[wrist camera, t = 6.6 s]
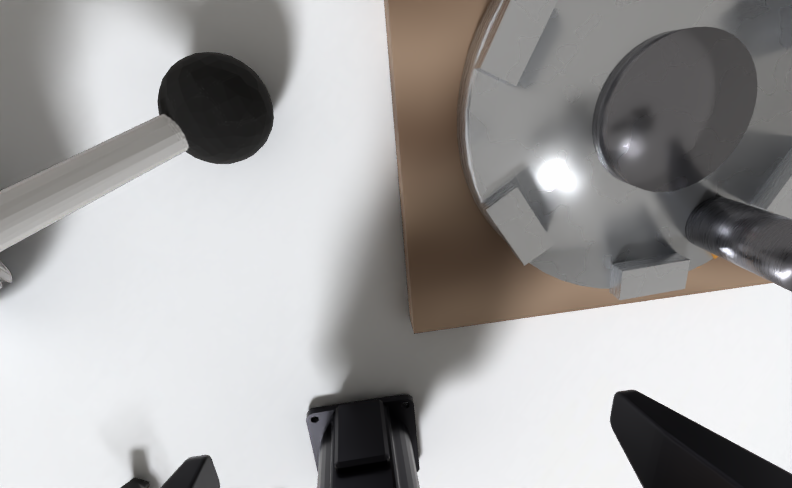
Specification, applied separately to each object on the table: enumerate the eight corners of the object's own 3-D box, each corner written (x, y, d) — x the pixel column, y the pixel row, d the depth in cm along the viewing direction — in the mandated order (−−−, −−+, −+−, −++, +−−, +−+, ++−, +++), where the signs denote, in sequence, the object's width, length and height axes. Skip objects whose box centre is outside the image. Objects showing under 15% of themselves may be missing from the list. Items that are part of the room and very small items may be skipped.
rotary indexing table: (381, 71, 16) (403, 68, 10) (742, -230, 14) (1034, -452, 8) (559, 324, 22) (639, 414, 16) (834, 140, 20) (1043, 167, 14)
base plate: (749, 271, 25) (778, 284, 23) (409, 318, 23) (414, 336, 21) (880, -187, 17) (939, -216, 15) (370, -165, 15) (374, -195, 13)
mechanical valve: (-387, 218, 14) (-1429, 262, 4) (108, 47, 24) (205, -76, 13) (-107, 400, 19) (-220, 642, 9) (212, 196, 29) (343, 192, 18)
